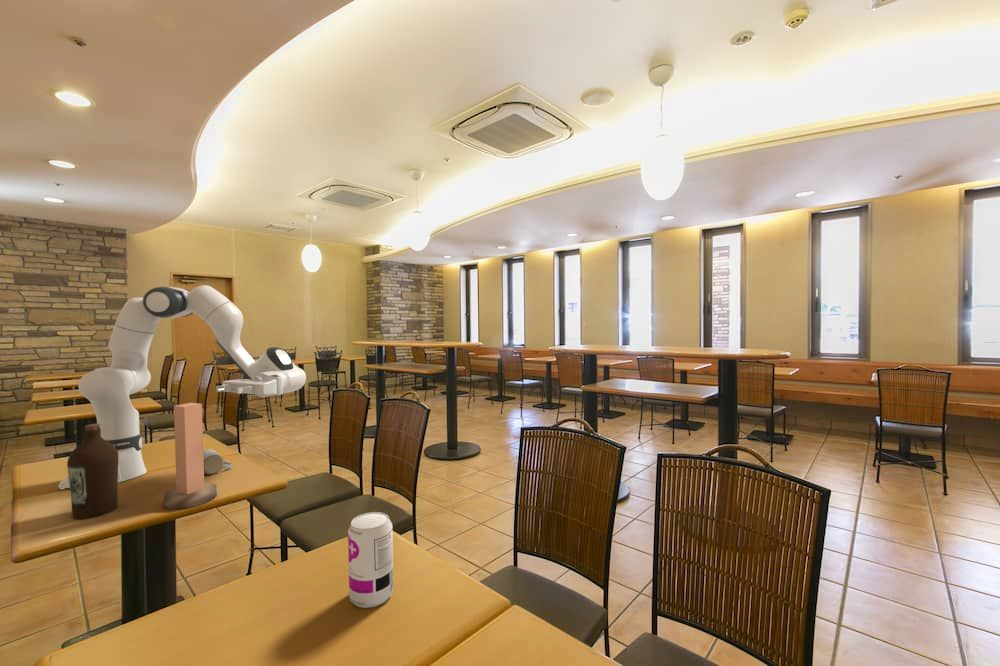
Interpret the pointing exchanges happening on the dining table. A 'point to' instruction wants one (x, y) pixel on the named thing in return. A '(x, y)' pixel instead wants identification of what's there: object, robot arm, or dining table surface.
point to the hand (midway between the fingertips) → (227, 390)
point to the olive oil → (93, 475)
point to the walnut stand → (190, 497)
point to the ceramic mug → (214, 462)
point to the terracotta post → (189, 447)
